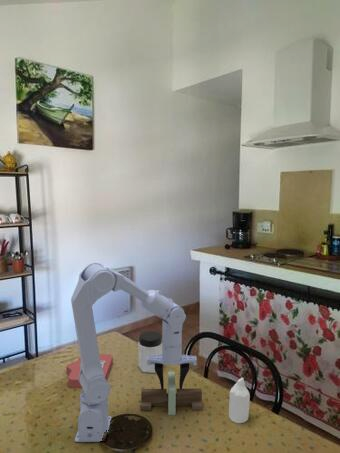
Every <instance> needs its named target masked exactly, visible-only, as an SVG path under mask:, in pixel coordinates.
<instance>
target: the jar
mask: <svg viewBox="0 0 340 453" xmlns="http://www.w3.org/2000/svg"><path fill="white" fill-rule="evenodd" d="M138 336H139V338H138V342H137V344H138V346H137V348H138V349H137V350H138V352H137V355H138V356H137V362H138V364H137V365H138V366H137V367H138V368H139V369H140V370H141V372H142V373H147V374H148V373H150V374H151V373H152V374H157V373H156V372H155V364H151V365H150V366H147V356H155V355H161V354H162V333H160V332H158V331H154V330H149V331H143V332H141V333H140V334H139V335H138Z"/></svg>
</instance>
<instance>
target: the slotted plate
mask: <svg viewBox="0 0 340 453" xmlns="http://www.w3.org/2000/svg"><path fill="white" fill-rule="evenodd" d="M175 373H176V372H175V371H168V372H167V393H168V406H167V409H168V410H167V412H168V413H167V414H168V416H176V412H177V411H176V407H177V406H176V389H177V388H176V374H175Z"/></svg>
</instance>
